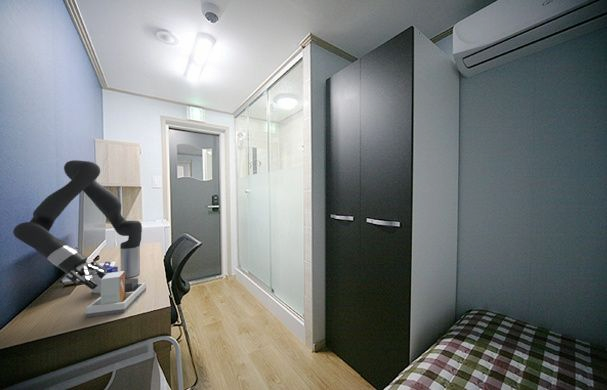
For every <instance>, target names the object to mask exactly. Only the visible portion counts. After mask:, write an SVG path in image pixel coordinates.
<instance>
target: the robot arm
mask: <svg viewBox="0 0 607 390" xmlns="http://www.w3.org/2000/svg"><path fill="white" fill-rule="evenodd" d="M63 170H64V171H63V172H64V174H65V175H66V176H67V177H68V178H69V179H70V181H69V182H68V183H66V184H65V185H64V186H63V187H62V186H61V188H59V189H57V190H55V191H54V192H52V193H51V194H49V195H48V196H47V197H45V198H44V199H43V200H42V201H41V203H40V204H39V205H38V206H37V207H36V208H35V210H33V213H32V218H31V219H30V221H25V222H21V223H19V224H17V225H16V226H15V227H14V228H13V230H12V231H13V232H12V233H13V236H14V238H16V239H18V240H20V241H21V242H23V243H24V244H26V245H28V247H31V248H32V249H34V250H35V251H36V252H38V253H39V254H40V255H41V256H43V257H44V258H46V259H47V260H48V261H49V262H50V263H52V265H54V266H55V267H57V268H58V269H60V270H61V271H62V272H64V273H65V274H66V275H65V278H67V279H68V280H70V281H71V283H73V284H75V285H76V286H77V287H78V286H80V285H84V286H86V287H87V288H89V289H91V290H92V289H94V288H96V287H97V286H98V284H96V283H95V282H93V281H92V278H91V279H90V276H92V275H97V276H98V277H100V278H101V279H102V278H103V277H104V276H105V275H106V274H105V273H104V270H105V268H104V267H102V266H103V265H101V264H99V263H97V262H96V261H95V260H93V261H91V262H90V263H89V262H87V261H88V257H87V256H84V255H83V254H82V253H81V252H79V251H78V250H76V249H75V248H73V247H72V246H70V245H68V244H67V243H65V242H64V240H61V239H59V238H58V237H56V236H54V235H53V234H52V233H50V230H51V229H52V227H53V225H54V224H55V221H56V219H58V218H59V216H60V215H61V214H62V212H64V211H65V209H66V208H67V207H68V206H69V205H70V204H71V202H72V201H73V200H74V199H75V198H76V197H78V196H79V194H80V193H82V192H83V193H84V194H85V195H86V197H88V198H89V199H90V200H91V201H92V202H93V204H94V205H95V206H96V208H97V209H98V210H99V211H100V212H101V213H102V214H103V215H104V216H105V218H106V219H107V220H108V222H109V223H110V224H111V226H112V227H113V228H114V230H115V232H116V233H117V235H119V236H122V237H127V240H126V241H123V242H121V243H120V246H119V247H120V251H119V253H120V255H119V257H120V258H119V259H120V261H119V263H120V265H119V267H120V271H119V272H121V271H125V279H130V278H134V277H136V276H137V277H138V276H139V275H140V274H141V241H142V235H143V234H142V231H143V227H142V223H141V221H139V220H127V219H126V218H124V217H123V216H122V214H121V211H122V203H121V201H120V200H119V199H118V198H117V195H115V194H114V192H112V191H111V190H110V189H108V188H106V187H105V186H103V185H102V184H100V183H99V182H98V181H97V180H96V179H97V178H98V177H99V176H100V175H101V168H100V166H99V164H97V163H96V162H93V161H90V160H89V161H88V160H87V161H86V160H77V159H76V160H69V161H67V162H66V163H65V164H64V166H63ZM98 267H99V268H100V269H98ZM96 272H97V273H96Z"/></svg>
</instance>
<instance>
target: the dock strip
mask: <svg viewBox="0 0 607 390" xmlns="http://www.w3.org/2000/svg"><path fill="white" fill-rule="evenodd" d="M146 291H147V282H139V278H138V277H136V278H125V299H124V300H123V302H120V303H111V304H103V305H101V296H100V297H98V298H97V299H95V300H94V301H93V302H92V303H90V304H89V305H88V306H85V318H92V317H100V315H101V316H108V315H107V314H109V315H115V314H114V313H116V314H123V313H126V312H127V311H128V310H129V308H130V307H132V305H134V303H135V302H136V301H137V300H139V298H140V297H141V296H142V295H143V294H144V293H145V292H146Z"/></svg>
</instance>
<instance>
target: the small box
mask: <svg viewBox="0 0 607 390" xmlns="http://www.w3.org/2000/svg"><path fill="white" fill-rule="evenodd" d="M125 279H126V278H125V271H121V272H120V271H118V272H112V273H107V274H106V275H105V276H104V277H103V278H102V279H101V293H100V297H101V305H103V304H111V303H120V302H123V300H124V299H125Z"/></svg>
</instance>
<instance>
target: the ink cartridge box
mask: <svg viewBox="0 0 607 390" xmlns="http://www.w3.org/2000/svg"><path fill="white" fill-rule="evenodd" d="M111 264H112V262H110V261H105V262H104V264H103V265H101V266H102V267H104V268H105V270H104V273H105V274H107V273H112V272H119V271H118V270H119V269H118V268H119V267H118V266H113V265H111ZM98 269H100V268H99V267H98ZM96 273H97V272H96ZM91 280H92V281H93V282H95V283H96V284H98V286H97V287H96V288H94V289H91V293H96V294H101V278H100V277H98V276H97V275H91Z"/></svg>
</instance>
